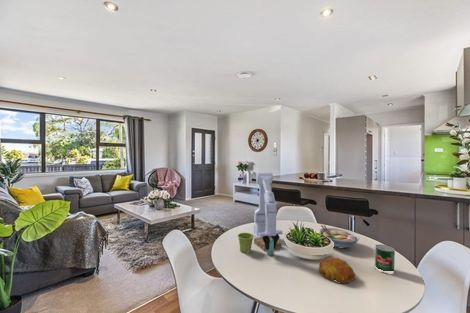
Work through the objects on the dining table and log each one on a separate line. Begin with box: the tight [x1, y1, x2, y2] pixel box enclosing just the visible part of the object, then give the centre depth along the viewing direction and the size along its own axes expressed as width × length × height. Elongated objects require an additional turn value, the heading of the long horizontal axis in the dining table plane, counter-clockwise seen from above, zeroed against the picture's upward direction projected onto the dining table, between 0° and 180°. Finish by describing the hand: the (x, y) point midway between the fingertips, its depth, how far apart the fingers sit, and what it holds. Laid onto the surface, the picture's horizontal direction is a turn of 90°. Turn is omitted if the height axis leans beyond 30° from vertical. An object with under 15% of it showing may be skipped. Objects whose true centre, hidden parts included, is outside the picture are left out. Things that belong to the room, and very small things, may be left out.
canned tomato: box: [374, 244, 396, 272], centre depth 110 cm, size 8×8×11 cm
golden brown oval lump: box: [318, 257, 356, 284], centre depth 105 cm, size 14×16×8 cm
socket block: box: [253, 236, 282, 252], centre depth 137 cm, size 12×12×3 cm
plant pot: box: [237, 232, 255, 254], centre depth 130 cm, size 9×9×9 cm
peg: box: [266, 239, 275, 257], centre depth 125 cm, size 4×4×8 cm
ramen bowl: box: [318, 224, 361, 248], centre depth 139 cm, size 25×23×8 cm
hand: (270, 248), depth 125 cm, fingers closed on peg, 4 cm apart
